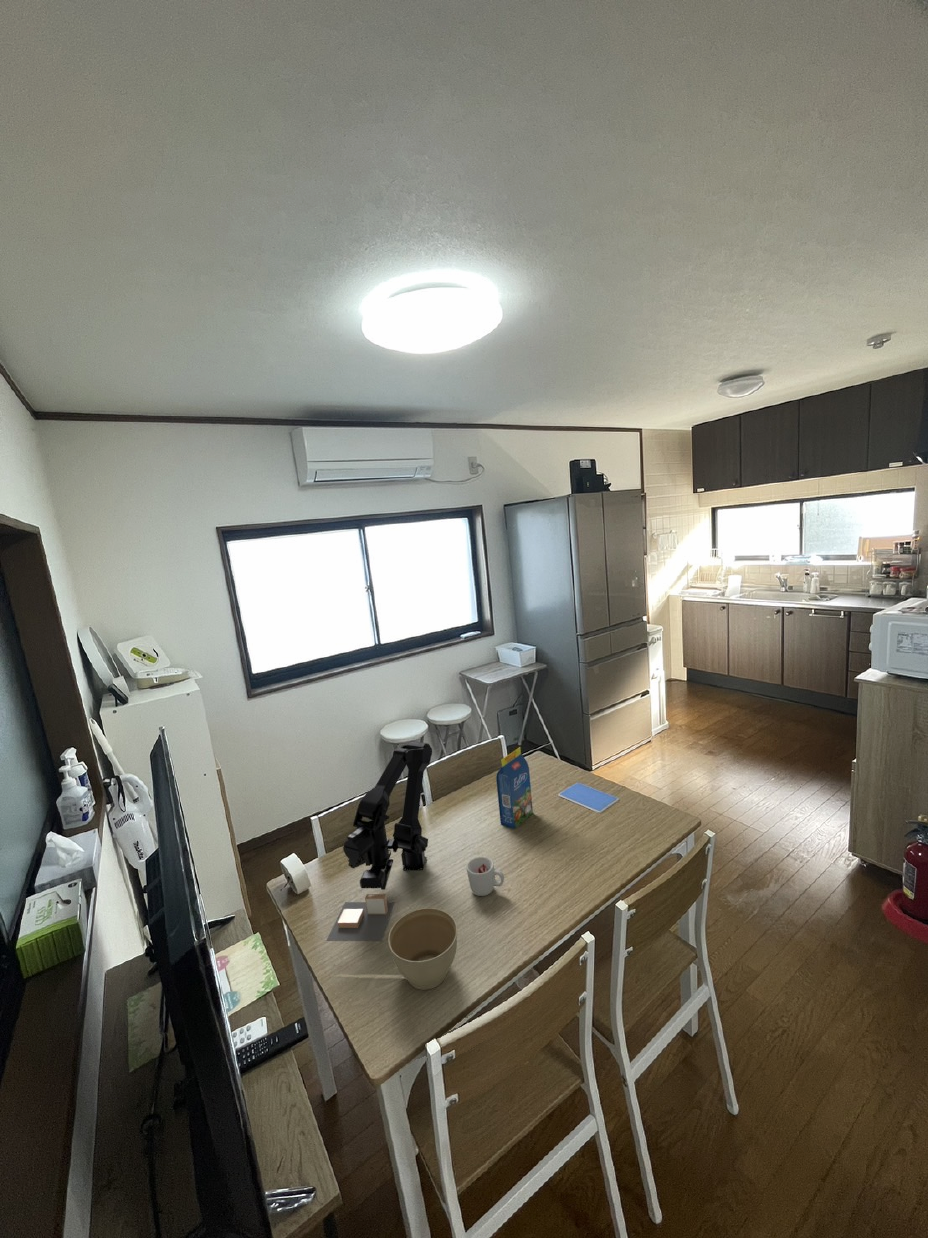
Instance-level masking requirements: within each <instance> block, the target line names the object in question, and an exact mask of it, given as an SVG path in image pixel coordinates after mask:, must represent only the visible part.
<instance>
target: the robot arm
mask: <svg viewBox="0 0 928 1238" xmlns="http://www.w3.org/2000/svg"><path fill="white" fill-rule="evenodd" d="M432 756H433V747H431V745H430V744H429V743H427V742H420V741H419V742H418V741H410V742H409V743H408V744H403V745H401V746H400V747H397V748H394V750H393V752H392V757H391V758H390V760H389V762H388V764H387V766H386V767H385V769H384V770H383V772H382V773H381V776H380V778H379V780H378V781H377V783H376V784H375V786H374V787H373V788H372V789H370V790H368V791H367V792H366V793H365V794H364V796H363V797H362V798H361V800H360V801H359V803H358V807H357V810H356V813H355V816H354V819H353V820H354V821H353V824H352V827H353V828H356V830H355V831H353V832H352V833H350V834H348V835H347V837H346V838H347V839H346V841H344V843H343V847H342V850H343V853H344V855H345V856H346V858H347V859H348V860H347V861H348V864H347V865H348V866H349V867H350V869H356V868H359V867H360V866H362V865H364V864H365V866H366V867H370V866H371V867H370V868H369V869H366V870H365V871H363V873H362V875H361V878H360V879H359V887H360V888H361V889H381V891H384V890H386V889H387V885H388V881H389V878H390V874H391V872H392V867H393V864H394V859H392V858H391V856H392V851H393V853H395V854H396V853H397V852H398V850H399V849H401V853H400V856H401V862H402V863H401V864H402V866H403V869H402V870H403V871H406V872H407V871H409V872H410V871H424V867H425V866H426V862H427V859H428V857H427V856H425V855H426V854H425V852H426V851H427V850H426V849H427V847H428V845H429V839H428V838H427V837H425V836H423V835H422V834H423V833H422V825H421V823H420V821H419V814H420V813H419V812H420V804H421V796H422V790H423V789H422V788H423V781H424V773H425V771H426V770H427V768H428V766H429V765H430V763H431V759H432ZM406 767H407V771H408V772H407V779H406V786H405V793H404V802H403V807H402V808H403V809H402V815H401V819H400V820H399V821H398V822H395V824H394V825H393V827H394V828H393V833H392V837H393V838H391V839H390V838H389V837H387V831H386V823H385V822H386V821H387V820H388V819H390V815H388V814H387V812H388V810H389V807H390V796H391V794H392V792H393V791H394V788H395V786H396V785H397V783H398V781H399V779H400V777H401V775H402V773H403V772H404V770H405V769H406ZM363 818H364V819H366V820H368V821H366V820H363ZM391 850H392V851H391Z"/></svg>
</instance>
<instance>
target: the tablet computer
mask: <svg viewBox="0 0 928 1238" xmlns="http://www.w3.org/2000/svg"><path fill="white" fill-rule="evenodd" d="M558 797H560V798H561V799H562V798H563V799H565V800H567V801H570V802H572V803H574V804H576V805H579V806H581V807H584V808H586V809H588V810H591V811H593V812H595V813H596V814H601V813H603V812H604V811H606V810H607V809H609V808H610V807H612V806H613V805H615V804H616V803H618V802H619V801H620V799H619V797H618V796H617V797H616V796H614V795H612V794H609V793H606V792H604V791H601V790H598V789H595V788H593V787H590V786H588V785H586V784H583V783H581V782H576V783H574V784H573V785H571V786H569V787H568V788H565V790H563V791H561V792H559V793H558Z"/></svg>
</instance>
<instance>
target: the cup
mask: <svg viewBox="0 0 928 1238" xmlns="http://www.w3.org/2000/svg"><path fill="white" fill-rule="evenodd" d="M465 867H466V868H465V869H466V873H467V877H468V882H469V887H470V889H471V892H472V893H473V894H474V895H475V896H479V897H485V896H487V895H490V894H491V893H492V892H493V889H494V887H501V886H502V885H503V884H504V883H505V875H504V873H503V871H501V870H498V869H496V868H495V865H494V862H493V860H492V859H491V858H489V857H487V856H486V857H485V856H477V857H474V858H472V859H469V861H468V862H467V863H466V866H465ZM496 876H499V878H500V881H498V880H496Z"/></svg>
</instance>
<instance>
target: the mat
mask: <svg viewBox="0 0 928 1238" xmlns="http://www.w3.org/2000/svg"><path fill="white" fill-rule="evenodd" d="M395 904H396V901H387V906H388V912H387V914H367V908H366V901H355V902H354V901H345V902H344V904H343V906H342V908H341V910H340V912H339V913H338V915H337V917H336V921H335V922H334V925H333V927H332V929H331V930H330V932H329V934H328V937H327V938H326V941H329V942H330V941H331V942H333V941H334V942H339V941H340V942H363V941H364V942H382V940H383V938H384V936H385V935H384V934H385V933H386V930H387V926H388V924H389V921H390V918H391V915H392V913H393V910H394V907H395ZM344 909H363V912H364V915H363V917H362V920H361V922H360V924H359V927H358V928H338V921H339V919H340V917H341V915H342V913H343V910H344Z"/></svg>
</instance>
